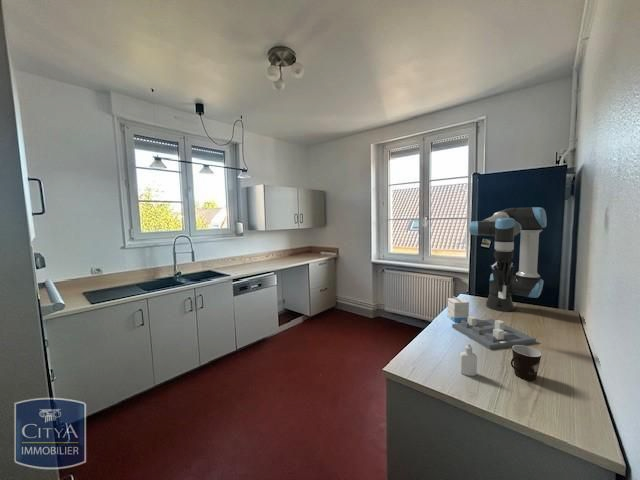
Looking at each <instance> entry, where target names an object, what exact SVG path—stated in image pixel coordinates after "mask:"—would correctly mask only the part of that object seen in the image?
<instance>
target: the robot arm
mask: <svg viewBox="0 0 640 480" xmlns="http://www.w3.org/2000/svg"><path fill="white" fill-rule="evenodd" d="M547 222H548V220H547V212H546V210H545V208H543V207H539V206H538V207H537V206H536V207H534V206H532V207H510V208H505V209H503V210H500V211H499V210H498V211H497V212H494V213H493V215H492V216H490V217H488V218H485V219H482V220H479V221H478V220H475V221H471V222H469V226H468V231H469V234H470V235H472V236H492V237H494V251H493V257H494V259H495V261H494V263H493V264H490V266H489V267H490V269H491V272H492V273H491V274H490V277H489V294H488V297H487V300H486V301H485V306H486V308H489V309H492V310H494V311H495V310H496V311H498V312H499V311H500V312H513V311H514V310H515V305H514V303H513V300H512V295H514V296H515V295H516V296H522V297H526V298H535V299H537V298H539V297H540V296H541V294H542V291H543V287H544V280H543V279H542V278H541V275H540V274H539V273H538V258H539V257H538V256H539V241H540V239H539V238H540V234H541V232H543V230H544V229H543V228H547ZM519 234H520V242H519V243H520V244H519V263H518V271H517V272H516V273H515V275H514V272H515V268H516V267H517V264H516V263H513V261H512V260H513V259H514V249H515V236H517V235H519Z"/></svg>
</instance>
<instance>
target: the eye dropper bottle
mask: <svg viewBox="0 0 640 480" xmlns="http://www.w3.org/2000/svg"><path fill="white" fill-rule="evenodd" d="M477 366H478V357H477V354H476V353H473V347H472V346H471V343H470V342H469V343H467V345H465V346H464V351H462V352H460V353H459V373H460V374H461V375H464V376H469V377H473V376H476V375H477V371H478V370H477V368H478V367H477Z"/></svg>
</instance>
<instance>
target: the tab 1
mask: <svg viewBox="0 0 640 480" xmlns="http://www.w3.org/2000/svg"><path fill="white" fill-rule="evenodd" d="M477 321H478V318H477V317H475V316H473V315H469V317H468V320H467V323H469V325H471V326H476V325H477Z"/></svg>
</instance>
